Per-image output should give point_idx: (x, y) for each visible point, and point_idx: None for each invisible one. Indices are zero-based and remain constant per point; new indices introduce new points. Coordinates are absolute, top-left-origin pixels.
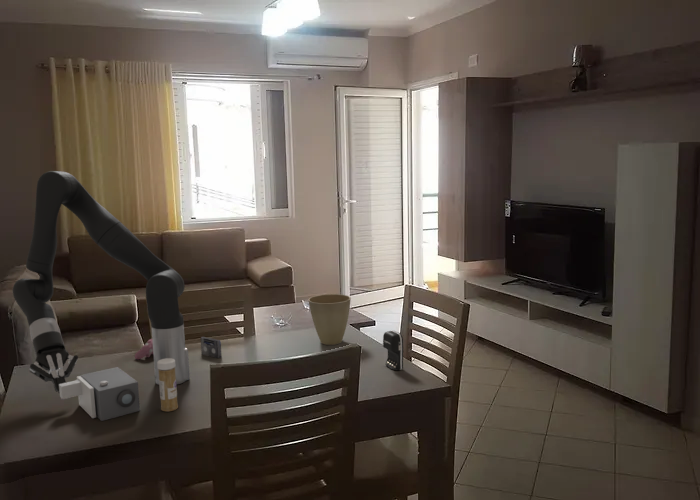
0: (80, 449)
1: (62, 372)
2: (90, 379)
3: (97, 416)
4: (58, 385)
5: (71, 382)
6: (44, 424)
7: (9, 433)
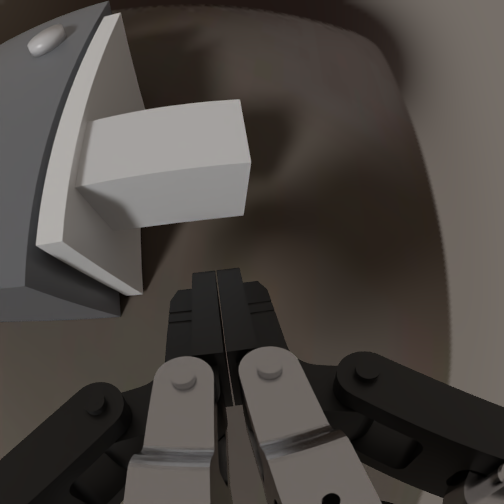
0: (232, 8)
1: (167, 404)
2: (31, 128)
3: None
4: (242, 286)
5: (142, 147)
6: (315, 155)
7: (415, 158)
